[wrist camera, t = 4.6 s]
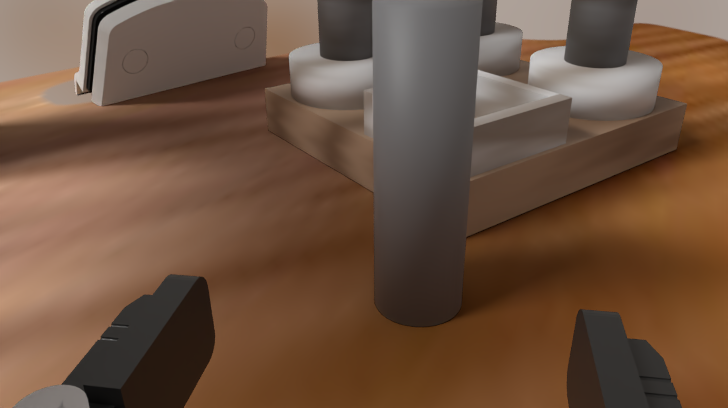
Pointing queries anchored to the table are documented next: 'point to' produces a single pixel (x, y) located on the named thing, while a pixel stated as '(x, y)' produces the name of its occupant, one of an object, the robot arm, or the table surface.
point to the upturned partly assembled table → (494, 106)
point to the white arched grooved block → (166, 45)
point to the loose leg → (422, 153)
